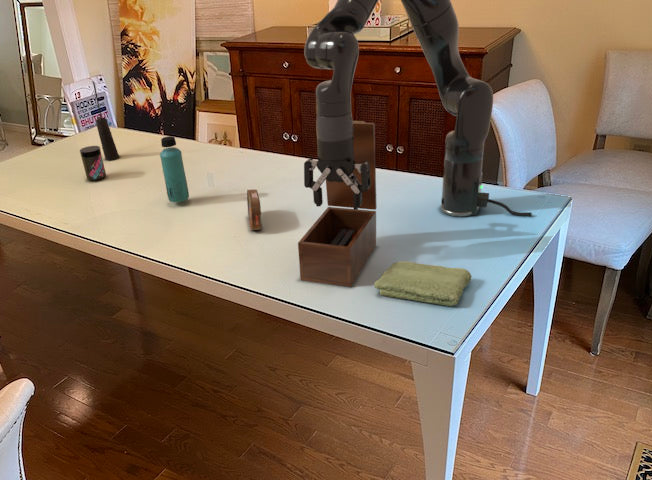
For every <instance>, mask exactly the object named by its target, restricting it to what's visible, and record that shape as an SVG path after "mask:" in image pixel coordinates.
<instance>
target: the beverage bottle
mask: <svg viewBox="0 0 652 480" xmlns="http://www.w3.org/2000/svg"><path fill="white" fill-rule="evenodd" d="M160 141H161V147H162V148H164V149H162V150H161V152H160V154H159V157H160V161H161V166H162V173H163V178H164V184H165V189H166V196H167V199H168V201H169V202H170V203H182V202H186V201H187V200H188V199H189V198H190V195H189V194H190V192H189V186H188V181H187V176H186V171H185V166H184V160H183V155H182V154H183V153H182V150H180V149H179V148H177V147H175V146H176V145H177V141H176V138H175V136H172V135H171V136H170V135H169V136H163V137H162V138H161V139H160Z"/></svg>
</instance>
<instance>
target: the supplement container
mask: <svg viewBox="0 0 652 480" xmlns="http://www.w3.org/2000/svg"><path fill="white" fill-rule="evenodd" d="M79 153H80V157H81V161H82V165H83V170H84V173H85V177H86V180H87V181H88V182H90V183H91V182H92V183H94V182H95V183H96V182H100V181H103V180H105V179H106V178H107V172H106V168H105V165H104V159H103V155H102V151H101V146H99V145H89V146H84V147H82V148H80V149H79Z"/></svg>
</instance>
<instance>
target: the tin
mask: <svg viewBox="0 0 652 480" xmlns="http://www.w3.org/2000/svg"><path fill="white" fill-rule="evenodd" d="M258 192H259V191H258V189H247V190H246V201H247V202H246V203H247V216H248V222H249V227H250V231H259V230H261V229H262V222H261V221H262V220H261V214H262V208H261V207H262V206H261V201H260V200H261V199H260V197H259V193H258Z"/></svg>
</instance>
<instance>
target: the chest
mask: <svg viewBox="0 0 652 480" xmlns="http://www.w3.org/2000/svg"><path fill="white" fill-rule="evenodd" d="M341 229H346V230H347V231H349V230H354V231H355V236H354V238H353V239H352V241H351V242H350V244H349V245H348V246H338V245H330V244H331V243H332V241H333V240H334V239H335V237H336V236H337V235H338V233H339V232H340V231H341ZM376 248H377V210H371V209H359V208H358V209H357V210H356V209H354V208H348V207H337V206H327V207H326V209H325V210H324V211H323V212H322V214H320V216H319V217H318V218H317V219H316V221H315V222H314V223H313V225H311V227H310V228H309V229H308V230H307V231H306V232H305V234H304V235H303V236H302V237H301V238H300V240H299V241H298V242H297V250H298V262H299V263H298V265H299V276H300V277H299V278H300V281H303V282H310V283H311V282H312V283H318V284H324V285H325V284H326V285H333V286H339V287H346V288H352V286H353V285H354V283H355V282H356V280H357V278H358V277H359V275H360V274H361V272H362V271H363V269H364V267H365V265H366V264H367V262H368V260H369V259H370V257H371V256H372V254H373V252H374V251H375V249H376Z"/></svg>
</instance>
